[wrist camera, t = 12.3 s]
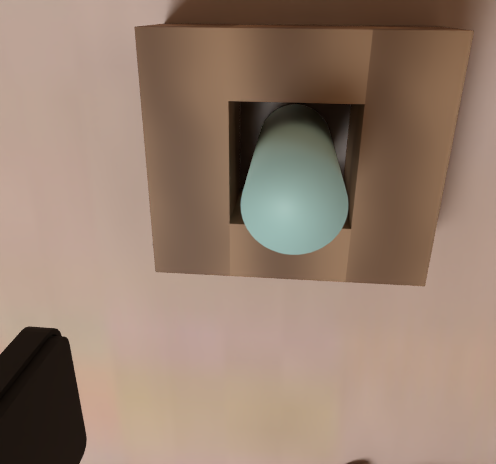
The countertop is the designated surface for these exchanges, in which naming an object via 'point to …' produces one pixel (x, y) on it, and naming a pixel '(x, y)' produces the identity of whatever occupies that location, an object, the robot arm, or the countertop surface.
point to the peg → (294, 184)
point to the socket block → (300, 91)
